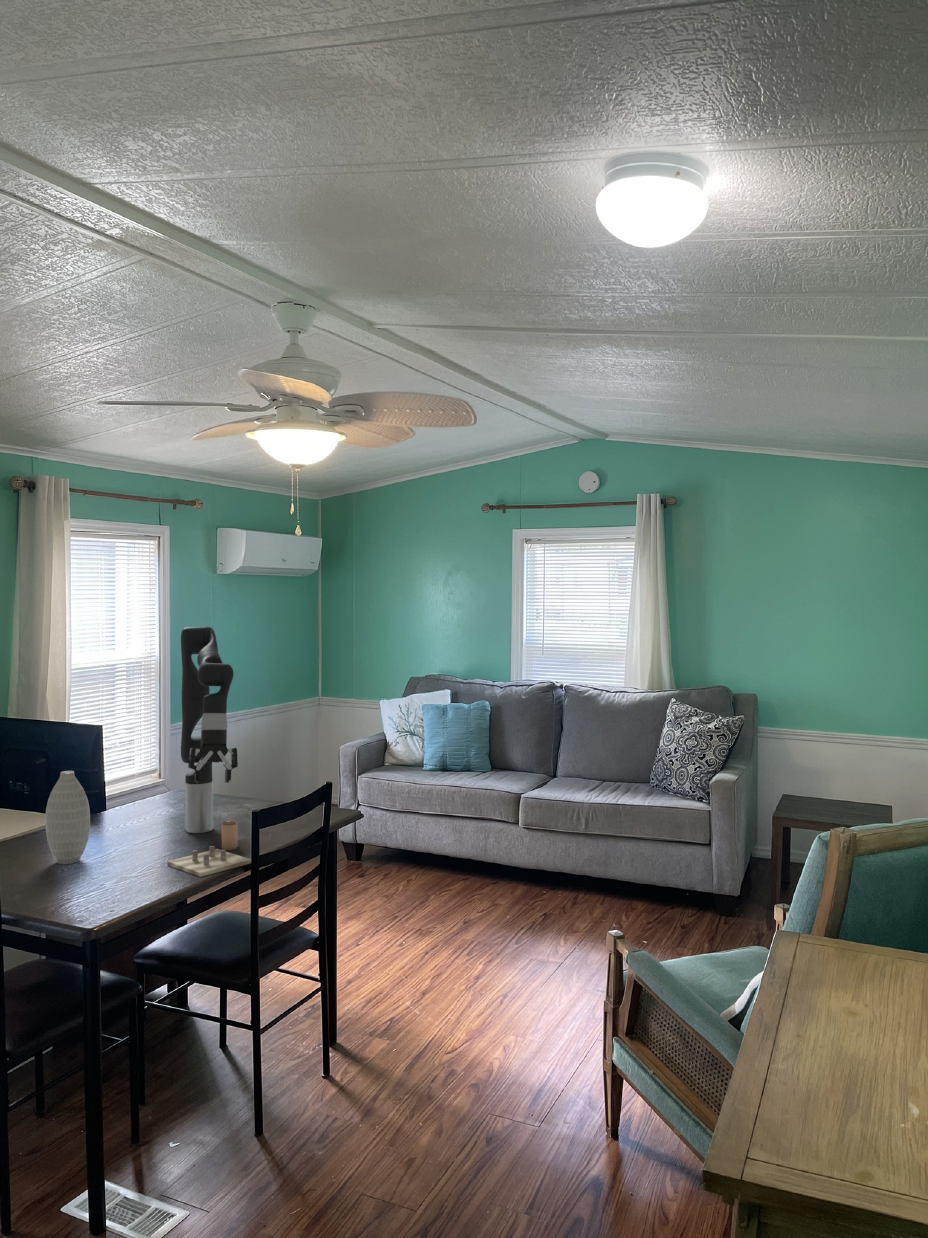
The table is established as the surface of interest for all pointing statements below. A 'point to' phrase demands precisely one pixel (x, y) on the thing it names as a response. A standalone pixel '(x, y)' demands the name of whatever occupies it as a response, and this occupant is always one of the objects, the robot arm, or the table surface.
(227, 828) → the canister
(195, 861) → the peg plate
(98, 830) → the table surface
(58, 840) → the vase
